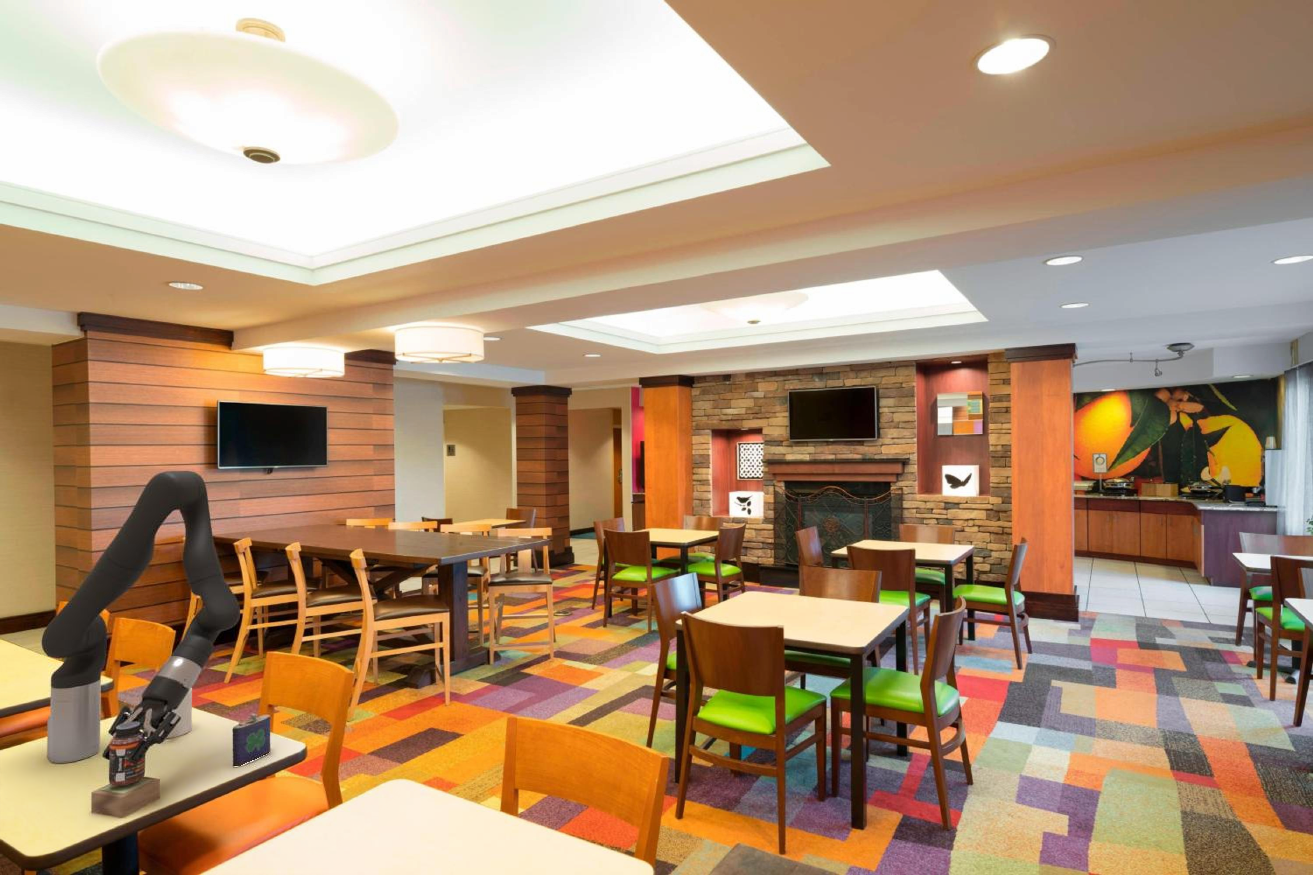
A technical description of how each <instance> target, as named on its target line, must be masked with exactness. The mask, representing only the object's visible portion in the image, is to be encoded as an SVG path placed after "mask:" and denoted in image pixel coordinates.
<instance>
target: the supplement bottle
mask: <svg viewBox="0 0 1313 875" xmlns="http://www.w3.org/2000/svg"><path fill="white" fill-rule="evenodd" d="M142 736H143V731H141V730H140V723H139V722H127V723H123V724H120V725H118V726H117V727H116V735H115V737H113V736H112V738H111V739H110V741H109V743H110V749H109V750H110V751H109V760H108V761H109V762H108V763H109V765H108V766H109V767H108V768H109V769H108V783H109V784H111V785H115V786H123V785H128V784H132V783H134V782H137V781H138V780H140V779H142V778H143V777H145V775H146V774H145V773H146V754H145V755H144V756H143V758H142V759H141V760H140V761H139V762H138V763H137V764H132V763H130V762H129V761H128V757H129V756H130V755H131V753H132V752H133V750H134V749H135V747H136V746H137V744H138V743H139V742H142V741H141V739H142Z"/></svg>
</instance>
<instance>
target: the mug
mask: <svg viewBox="0 0 1313 875" xmlns="http://www.w3.org/2000/svg"><path fill="white" fill-rule="evenodd" d="M192 708H193V687H191V689H190V690H189V692H188V693H187V695H186V696H185V698H184V699H183V701H182V702H181V704H180V705H179V707H178V708H177V709H176V710H172V712H174V713H176V714H177V715H179V716H180V717H181V720H180V721H179V722H178V724H177V725H176V726H175V727H174V729H173V730H172V731H171V732H170V734H169V735H168V736H167V738H166V739H171V738H176V737H177V738H178V737H181V736H183V735H186V734H188V733H190V731H191V730H192V727H193V726H192V722H193V720H192V719H193V718H192V713H193V712H192V711H193V709H192ZM163 732H164V730H163V731H162V732H161V733H160V735H159V736H161V735H162V733H163Z"/></svg>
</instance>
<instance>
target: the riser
mask: <svg viewBox="0 0 1313 875" xmlns="http://www.w3.org/2000/svg"><path fill="white" fill-rule="evenodd" d="M90 798H91V799H90V800H91V803H90V804H91V805H90V806H91V807H90V808H91V813H93V814H99V815H100V814H101V815H104V816H111V817H116V818H117V817H118V818H122V819H123V818H125V817H127V816H128V815H130V814H132V813H134V812H136V811H138V810H141V809H142V808H144V807H146V806H148V805H149V804H151V803H153V802H155V801H157V800H159V799H160V798H161V778H155V777H151V776H150V777H149V776H144V777H143V778H142V779H140V780H138V781H137V782H134V783H132V784H128V785H123V786H115V785H111V784H110V783H109V784H106V785H104V786H102V787H100V788H98V789H96V790H93V791H91V797H90Z"/></svg>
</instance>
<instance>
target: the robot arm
mask: <svg viewBox="0 0 1313 875" xmlns="http://www.w3.org/2000/svg"><path fill="white" fill-rule="evenodd" d="M204 480H205V479H204V478H203V477H202V476H201V475H200V474H199V473H197V472H196V471H192V470H168V471H167V470H166V471H163V472H162V471H161V472H159V473H156V474H155V475H154V476H152V478H151V479H150V480H148V482H147V484H146V485H145V487H144V488H143V490H142V492H141V493H140V496H139V497H138V500H137V502H136V504H135V506H134V507H133V508H132V511H131V513H130V514H129V516H128V517H127V519H126V520H125V522H124V523H123V524H122V526H121V527H120V529H119V530H118V532H117V533H116V535H115V536H114V538H113V539H112V541H111V542H110V543H109V545H108V546H107V547H106V549H105V550H104V551H103V553H102V554H101V556H100V557H99V559H98V560H97V562H96V563H95V565H94V567H93V568H92V570H91V571H90V572H89V573H88V575H87V576H86V578H85V579H84V580H83V582H82V583H81V585H80V586H79V587H78V589H77V591H76V592H75V593H74V594H73V596H72V597H71V598H70V599H69V600H68V602H66V604H65V605H64V607H63V608H62V609H61V610H60V611H59V612H58V613H57V614H56V616H55V617H54V618H53V619H52V620H51V621H50V622H49V623H48V624H47V626H45V627H46V628H45V629H44V631H43V634H42V637H41V647H42V650H43V652H44V654H45V655H46V656H48V657H50V658H52V659H53V658H54V659H65V660H64V661H63V663H62V664H61V665H60V666H59V667H58V668H57V669H56V670H55V671H53V672H52V674H51V677H50V711H49V712H50V715H49V716H48V718H47V734H46V735H47V740H46V742H47V743H46V744H47V745H46V758H48V759H49V762H51V763H53V764H54V763H56V764H65V763H72V762H77V761H81V760H84V759H87V758H90V757H93V756H94V755H96V754H97V753H99V752H100V749H101V706H102V705H101V696H102V695H101V692H102V691H101V689H102V688H101V687H102V680H101V679H102V671H103V669H104V667H105V665H106V658H107V657H106V656H107V643H108V642H107V641H108V629H107V624H106V621H105V620H104V618H103V617H102V615H101V614H102V612H104V610H106V609H107V608H108V607H110V605H112V604H113V603H114V602H115V601H117V600H118V599H119V598H120V597H121V596H123V595H124V594H126V593H127V592H128V591H129V590H130V589H131V588H132V587H133V586H134V585H135V584H136V583H137V581H138V580H139V579H140V578H141V577H142V575H143V574H144V572H145V571H146V569H147V568H148V567H149V566H150V563H151V562H152V560H153V557H154V552H155V542H156V541H155V540H156V534H157V532H158V530H159V529H160V527H162V525H163V523H164V522H165V521H166V520H167V519H168V517H169V516H170V515H171V514H172V513H173V512H174V511H178V510H179V513H180V515H181V517H182V519H183V523H184V529H185V533H184V534H185V536H184V537H185V538H184V544H183V551H182V564H183V569H184V572H185V576H186V580H187V582H188V585H189V588H190V590H191V593H192V594H193V595H194V596H197V597H200V599H201V601H202V603H203V605H204V606H203V607H202V608H200V609H199V610H198V611H197V612H196V614H195V615H194V616H193V618H192V620H191V622H190V623H189V624H188V628H187V629H186V631H185V634H184V637H183V638H182V640H181V641H180V643H179V644H178V645H177V647H176V648H175V649H174V651H173V652H172V654H171V655H170V657H168V659H167V660H166V661H165V662H164V663H163V664H162V665H161V667H160V668H159V669H158V671H157V672H156V674H155V675H154V676H153V678H152V680H151V681H150V682H149V684H148V685H147V686H146V688H145V690H144V691H143V692H142V694H141V701H140V702H139V704H137V705H136V706H135V707H129V706H127V705H124V706H123V707H121V710H120V711H119V713H118V715H117V716H116V718H115V719H114V721H113V723H112V725H111V726H110V728H109V730H108V731H107V732H108V734H109V735H110V736H112V738H113V737H115V735H116V727H117V726H118V725H120V724H123V723H127V722H139V723H140V731H141V730H142V732H143V736H142V739H141V741H142V742H139V743H138V744H137V746H136V747H135V749H134V750H133V752H132V753H131V755H130V756H129V757H128V761H129V762H130V763H132V764H137V763H138V762H139V761H140V760H141V759H142V758H143V756H144V755H145V756H146V754H147V752H148V750H149V749H150V747H153V746H154V745H156V744H157V745H162V744H163V743H164V741H165V740H166V739H168V738H167V736H168V735H169V734H170V732H171V731H172V730H173V729H174V727H175V726H176V725H177V724H178V722H179V721H180V720H181V717H180V716H179V715H177V714H176V713H174V712H172V710H176V709H177V708H178V707H179V705H180V704H181V702H182V701H183V699H184V698H185V696H186V695H187V693H188V692H189V690H190V689H191V688H193V686H194V684H195V683H196V681H197V679H198V677H199V675H200V673H201V672H202V670H203V668H204V667H205V666H206V664H207V663H208V661H209V659H210V658H211V656H212V654H213V653H214V650H215V646H214V643H215V641H216V640H217V637H218V636H219V635H220V633H221V632H224V631H227V630H230V629H232V628H234V627H235V626H236V625H237V624H238V623H239V621H240V617H241V608H240V604H239V601H238V600H237V597H236V596H235V594H234V592H233V591H232V589H231V588H230V586H229V585H228V583H227V582H226V580H225V576H224V573H223V569H222V567H221V563H220V561H219V557H218V553H217V549H216V546H215V541H214V535H213V527H212V522H211V514H210V513H211V512H210V506H209V505H210V504H209V498H208V490H207V485H206V483H205V481H204ZM163 730H164V732H163V733H162V735H161V736H159V735H160V733H161V732H162V731H163ZM109 749H110V742H109V744H108V745H107V746H106V748H105V749H104V750H103V752H102V756H101V757H102V758H103V759H105V760H107V761H109V751H110V750H109Z"/></svg>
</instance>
